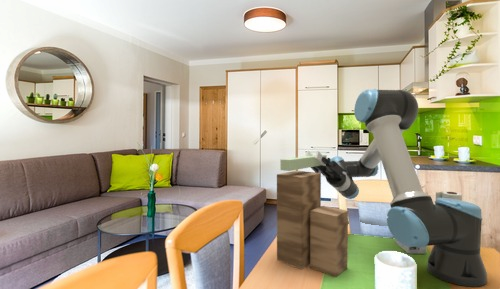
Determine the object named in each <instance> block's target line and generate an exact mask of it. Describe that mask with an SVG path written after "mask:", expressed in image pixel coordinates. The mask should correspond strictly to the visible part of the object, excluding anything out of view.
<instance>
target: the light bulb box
mask: <svg viewBox="0 0 500 289" xmlns="http://www.w3.org/2000/svg"><path fill="white" fill-rule="evenodd" d="M394 243H395V244H396V245H397V246H399V247H400V248H401V249H403V251H404V252H406V253H407V254H416V255H417V254H419V255H420V254H425V255H426V254H427V246H424V247H408V246H405V245H402V244H401V243H400V242H399V241H397V240H396V239H395V238H394Z"/></svg>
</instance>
